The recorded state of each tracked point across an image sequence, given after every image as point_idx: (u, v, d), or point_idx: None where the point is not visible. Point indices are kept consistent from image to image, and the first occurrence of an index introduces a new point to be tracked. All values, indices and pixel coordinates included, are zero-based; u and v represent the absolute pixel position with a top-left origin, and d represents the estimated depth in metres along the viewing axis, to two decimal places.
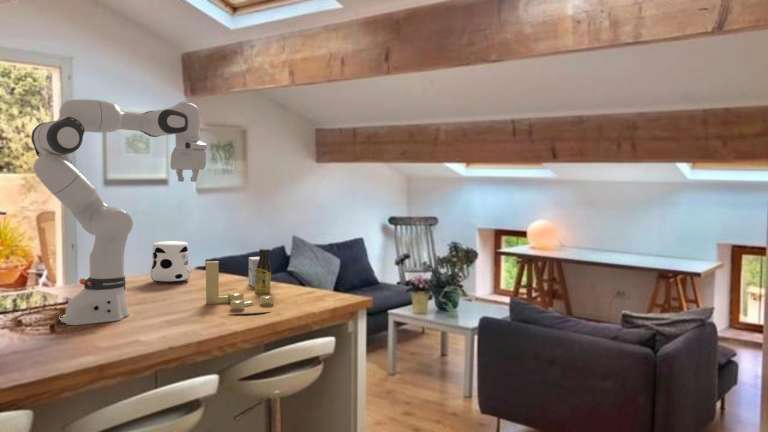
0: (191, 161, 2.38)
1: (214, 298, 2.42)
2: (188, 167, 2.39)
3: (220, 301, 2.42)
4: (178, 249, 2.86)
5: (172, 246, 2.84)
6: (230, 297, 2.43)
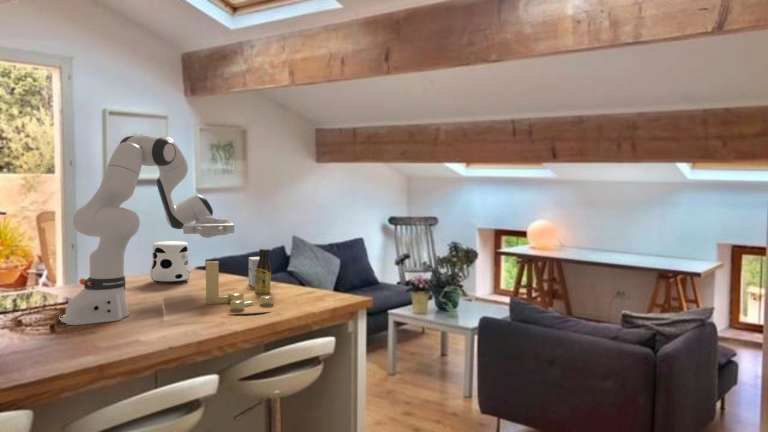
0: None
1: (214, 298, 2.42)
2: (219, 224, 2.60)
3: (220, 301, 2.42)
4: (178, 249, 2.86)
5: (172, 246, 2.84)
6: (230, 297, 2.43)
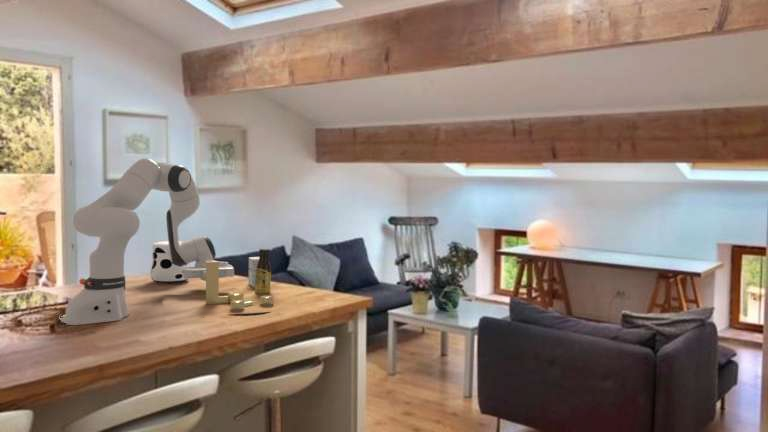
0: (224, 267, 2.64)
1: (214, 298, 2.42)
2: None
3: (220, 301, 2.42)
4: None
5: None
6: (230, 297, 2.43)
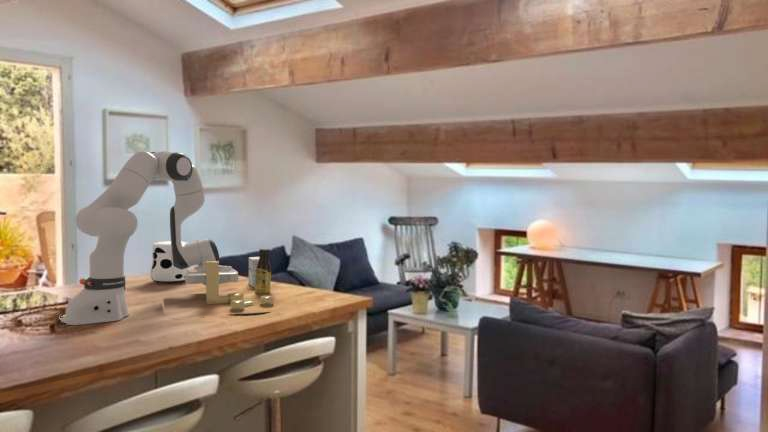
0: (227, 272, 2.52)
1: (214, 298, 2.41)
2: (222, 273, 2.49)
3: (220, 301, 2.42)
4: None
5: None
6: (230, 297, 2.43)
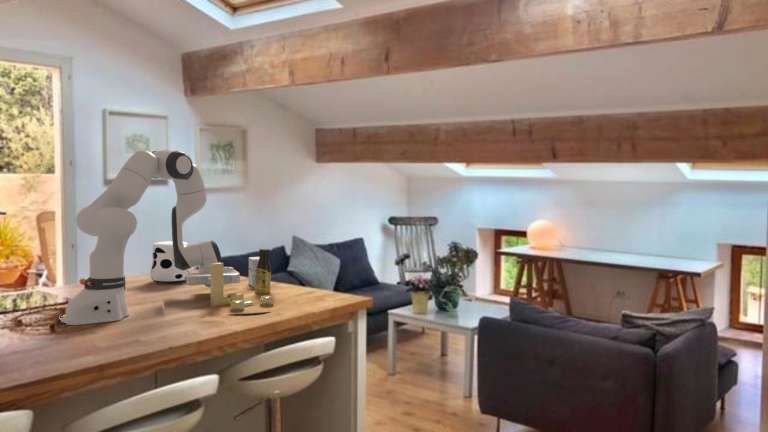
0: (229, 273, 2.49)
1: (220, 300, 2.38)
2: (224, 274, 2.46)
3: (225, 302, 2.40)
4: None
5: (172, 246, 2.84)
6: (234, 297, 2.42)
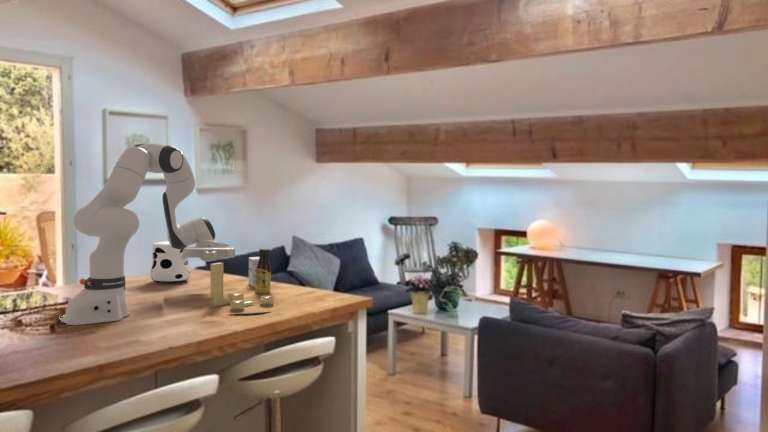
0: None
1: (220, 300, 2.38)
2: (219, 248, 2.56)
3: (225, 302, 2.40)
4: (178, 249, 2.86)
5: None
6: (234, 297, 2.42)
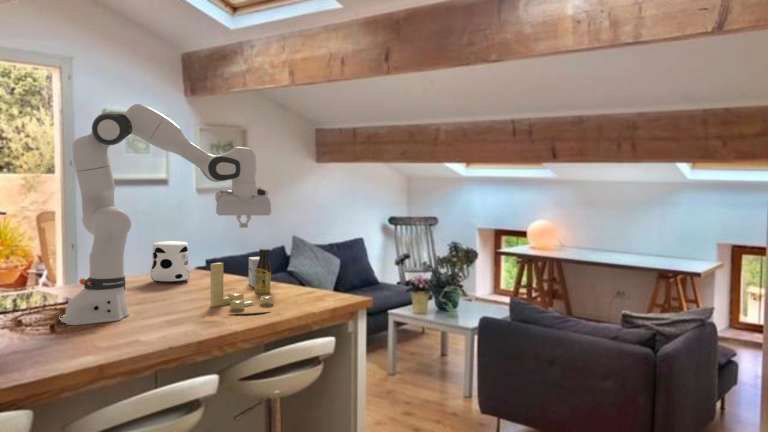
0: (261, 207, 2.39)
1: (220, 300, 2.38)
2: (255, 213, 2.38)
3: (225, 302, 2.40)
4: (178, 249, 2.86)
5: (172, 246, 2.84)
6: (234, 297, 2.42)
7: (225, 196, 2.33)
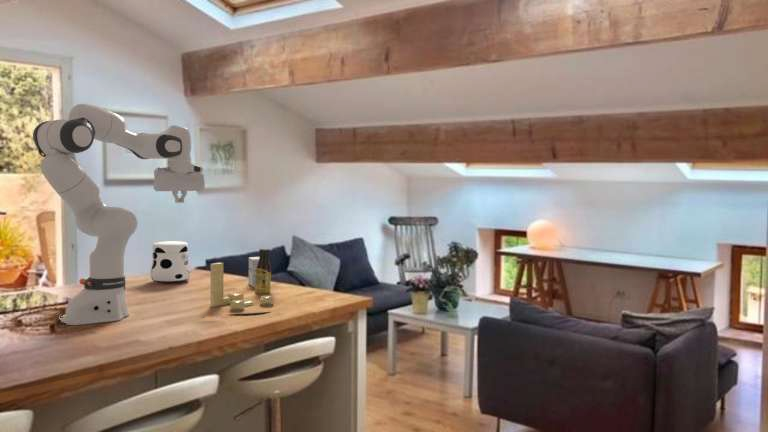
0: (196, 183, 2.53)
1: (220, 300, 2.38)
2: (190, 189, 2.52)
3: (225, 302, 2.40)
4: (178, 249, 2.86)
5: (172, 246, 2.84)
6: (234, 297, 2.42)
7: (164, 173, 2.44)
